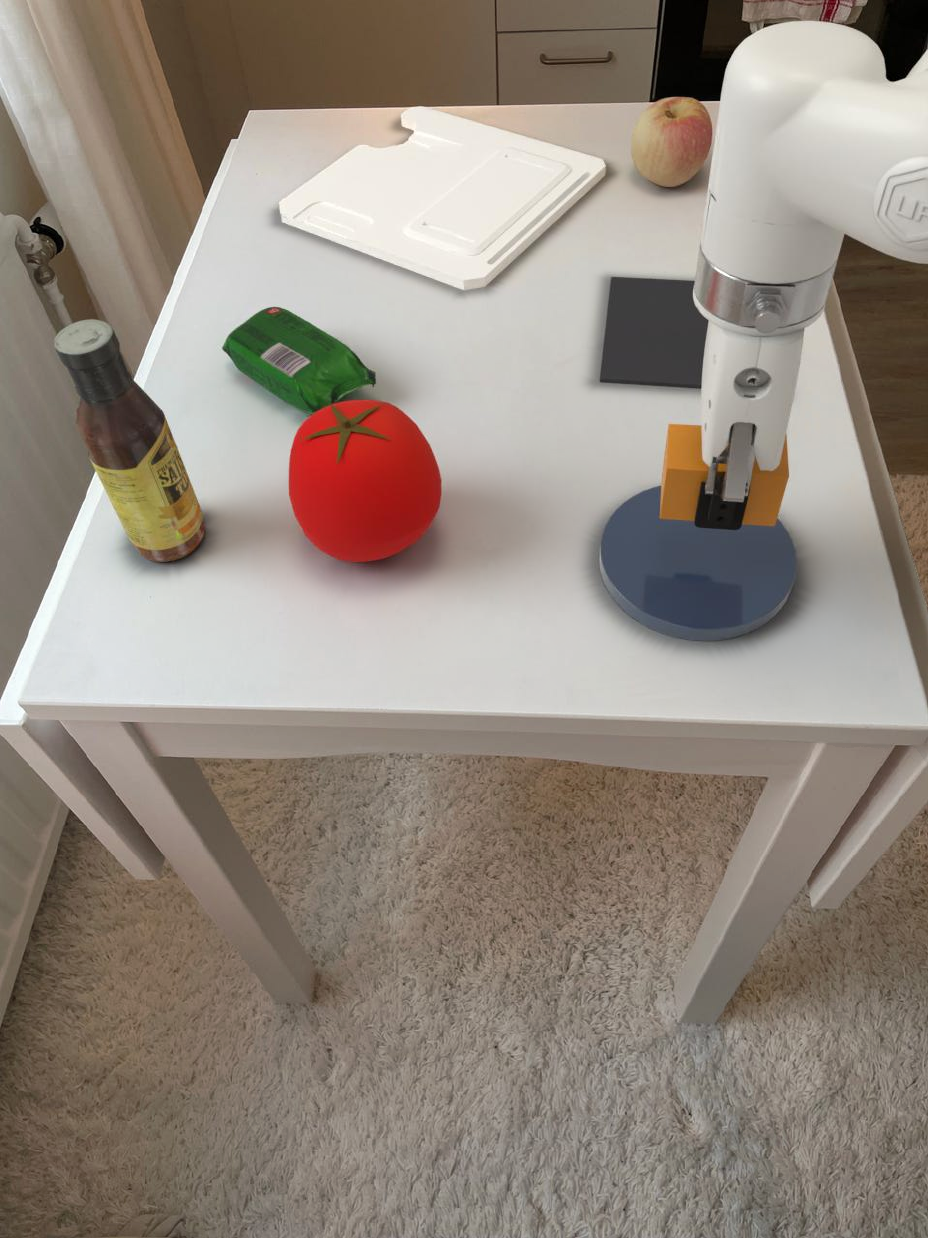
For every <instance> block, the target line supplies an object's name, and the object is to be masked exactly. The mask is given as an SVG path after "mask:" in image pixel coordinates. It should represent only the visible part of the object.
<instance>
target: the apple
mask: <svg viewBox="0 0 928 1238" xmlns="http://www.w3.org/2000/svg"><path fill="white" fill-rule="evenodd" d="M712 142H713V123H712V119H711V116H710V112H709V111H708V109H707V108H706V106H705V105H704V104H703V103H702V102H700V101H699V100H698V99H695V98H694V97H688V96H687V97H686V96H670V97H664V98H661V99H659V100H657V101H655V102H653V103H652V104H651V105H649V106H648V107H647V108H646V109H644V111H643V112H642V113H641V114H640V115H639V117H638V119H637V121H636V123H635V125H634V129H633V133H632V136H631V143H630V154H631V158H632V162H633V164H634V166H635V168H636V170H637V171H638V172H639V173H640V175H641V176H643V178H645V179H646V180H648V181H649V182H650V183H651V182H652V183H653V184H655V185H658V186H660V187H665V188H675V187H678V186H681V185H683V184H686V182H688V181H689V180H691V179H692V178H693V177H695V175H696V174H697V173H698V172H699V171H700V169H701V168H702V167H703V165H704V164H705V162H706V160H707V158H708V156H709V153H710V150H711V147H712Z"/></svg>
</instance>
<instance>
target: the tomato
mask: <svg viewBox="0 0 928 1238" xmlns="http://www.w3.org/2000/svg"><path fill="white" fill-rule="evenodd" d="M329 404H330V405H329V406H327V407H324V408H322V409H321V410H319V411H317V412H315V413H314V414H313V415H312V414H310V416H309V417H308V418H306V419H305V420H304V421H303V422H302V423H301V425H300V426H299V428H298V429H297V430H296V433H295V435H294V438H293V441H292V445H291V448H290V454H289V459H288V460H289V461H288V497H289V500H290V504H291V508H292V511H293V515H294V518H295V519H296V521H297V523H298V525H299V527H300V528H301V531H302V532H303V534H304V536H305V537H306V538H307V539H308V540H309V541H310V542H311V543H312V544H313V546H315V547H316V548H317V549H318V550H319V551H321V552H322V553H324V554H326V555H328V556H330V557H332V558H334V559H335V560H340V561H342V562H349V563H364V562H365V563H366V562H372V561H379V560H383V559H386V558H389V557H392V556H394V555H396V554H398V553H401V552H402V551H404V550H405V549H407V548H408V547H410V546H412V545H414V544H415V543H416V542H417V541H418V540H419V539H420V538H421V537H422V536H423V535H425V533H426V532H427V531H428V530H429V528H431V525H432V524H433V522H434V520H435V518H436V516H437V514H438V512H439V509H440V507H441V501H442V476H441V472H440V471H441V470H440V467H439V464H438V462H437V459H436V456H435V453H434V452H433V448H432V447H431V444H430V443H429V441H428V439H427V438H426V437H425V435H424V433H423V432H422V430H421V429H420V428H419V426H418V424H417V423H416V422H415V421H414V420H413V419H412V417H409V416H408V414H406V413H405V412H404V411H403V410H402V409H400V408H399V407H398V406H396V405H394V404H392V403H390V402H387V401H382V400H375V399H353V400H343V401H338V402H337V403H335V404H331V403H330V402H329Z"/></svg>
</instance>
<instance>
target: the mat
mask: <svg viewBox="0 0 928 1238" xmlns="http://www.w3.org/2000/svg"><path fill="white" fill-rule="evenodd" d="M694 283H695V280H685V279H684V280H683V279H666V278H643V277H625V276H623V277H622V276H611V277H610V286H609V292H608V301H607V312H606V320H605V327H604V328H605V329H604V336H603V337H604V339H603V347H602V355H601V357H602V358H601V366H600V373H599V374H600V375H599V383H613V384H630V385H643V386H661V387H674V388H689V389H701V388H702V371H703V359H704V350H705V342H706V335H707V329H708V322H709V320H708V319H706V318H705V317H704V316H703V315H702V314H701V313H700V312H699V310H698V309H697V307H696V306H695V303H694V300H693V289H694Z"/></svg>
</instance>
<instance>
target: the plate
mask: <svg viewBox="0 0 928 1238" xmlns="http://www.w3.org/2000/svg"><path fill="white" fill-rule="evenodd" d="M660 502H661V485H656V486H653V487H650V488H648V489H645V490H643V491H640V492H639V493H636V494H635V495H633V496H632V497H629V498H628V499H627V500H625V501H624V502H623V503H622V504H621V505H620V506H619V507H618V508H616V510H615V511H614V512H613V513H612V514H611V515H610V517H609V519H608V520H607V522H606V523H605V526H604V527H603V531H602V534H601V538H600V545H599V555H598V556H599V557H598V563H599V564H598V565H599V570H600V575H601V578H602V581H603V584H604V586H605V588H606V590H607V592H608V593H609V595H610V597H611V598H612V599H613V601H614V602H615V603H616V604H617V605H618V606H619V607H620V608H621V609H622V610H623V611H624V612H625V613H626V614H627V615H629V616H630V617H631V618H632V619H634V621H636V622H638V623H640V624H642V625H643V626H645V627H647V628H648V629H651V630H653V631H655V632H657V633H661V634H663V635H666V636H670V637H672V638H673V637H674V638H677V639H681V640H689V641H697V642H698V641H700V642H701V641H702V642H712V641H722V640H729V639H733V638H737V637H741V636H744V635H747V634H749V633H752V632H754V631H756V630H757V629H759V628H761V627H762V626H764V625H766V624H767V623H768V622H769V621H770V620H772V619H773V618H775V616H777V614H778V613H779V612H780V611H781V610H782V608H783V607H784V605H785V604H786V603H787V601H788V598H789V597H790V596H789V595H790V593H791V592H792V591H791V590H792V589H793V586H794V583H795V580H796V576H797V575H796V574H797V570H798V558H797V552H796V551H797V550H796V547H795V545H794V541H793V538H792V537H791V535H790V532H789V531H788V530H787V529H786V526H785V525H784V524H783V523H782V522H781V520H780V519H779V518H778V517H777V521H776V524H775V526H761V525H746V524H742V526H741V528H740V529H738V530H725V529H710V528H698V527H696V526H695V521H686V520H671V519H660Z"/></svg>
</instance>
